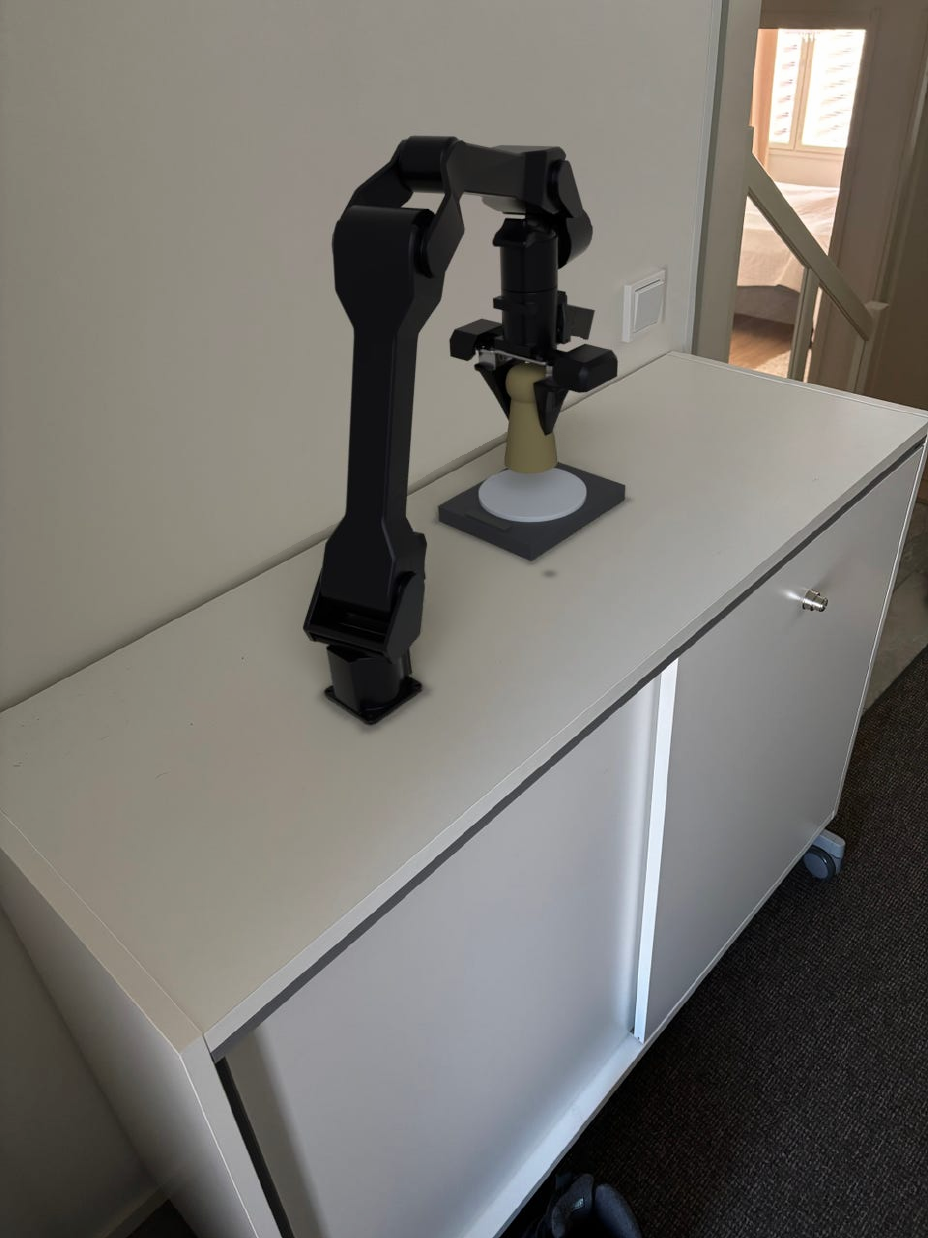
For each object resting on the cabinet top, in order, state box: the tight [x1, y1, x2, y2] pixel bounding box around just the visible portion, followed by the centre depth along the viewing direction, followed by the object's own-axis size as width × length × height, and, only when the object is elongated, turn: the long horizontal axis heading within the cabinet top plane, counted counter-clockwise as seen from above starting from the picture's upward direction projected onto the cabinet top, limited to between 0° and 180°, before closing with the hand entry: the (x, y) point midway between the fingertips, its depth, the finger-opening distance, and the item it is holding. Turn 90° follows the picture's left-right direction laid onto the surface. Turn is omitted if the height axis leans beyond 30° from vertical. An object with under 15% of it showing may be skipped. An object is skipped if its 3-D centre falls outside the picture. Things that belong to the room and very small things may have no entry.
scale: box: [437, 461, 626, 562], centre depth 107 cm, size 17×14×3 cm
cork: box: [503, 362, 559, 474], centre depth 100 cm, size 6×6×11 cm
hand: (531, 429), depth 101 cm, fingers closed on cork, 4 cm apart
